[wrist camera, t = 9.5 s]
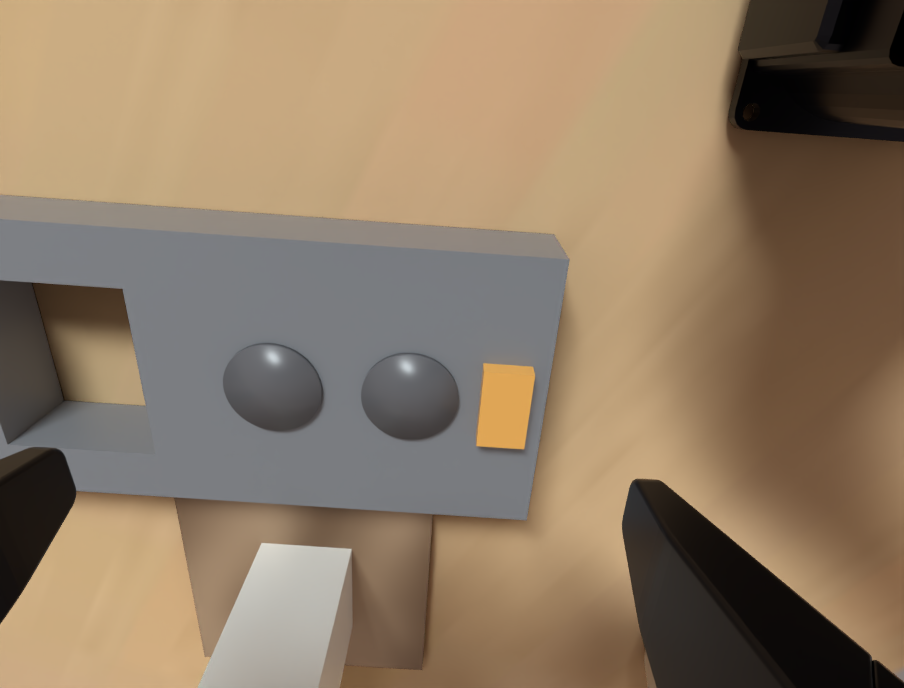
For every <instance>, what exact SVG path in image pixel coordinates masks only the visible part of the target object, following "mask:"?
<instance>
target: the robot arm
mask: <svg viewBox="0 0 904 688" xmlns="http://www.w3.org/2000/svg"><path fill="white" fill-rule="evenodd" d="M738 51H739V53H740V55H741V57H742V58H743V59H742V63H741V67H740V71H739V75H738V78H737V82H736V86H735V90H734V94H733V98H732V101H731V105H730V109H729V120H730V123H731V124H732V125H733V126H734V127H735V128H739V129H743V130H754V131H767V132H781V133H794V134H808V135H821V136H835V137H848V138H862V139H875V140H889V141H902V142H904V0H750V4H749V8H748V12H747V16H746V20H745V24H744V27H743V31H742V35H741V39H740V43H739V47H738ZM748 104H752V105H753V107H754V113H753V114H752V116H751V117H750V118H749V119H748V120H745V119H744V118H743V110H744V109H745V107H746V106H747V105H748ZM75 498H76V486H75V483H74V480H73V477H72V474H71V471H70V469H69V466H68V463H67V460H66V457H65V455H64V453H63V452H62V451H61V450H60V449H57V448H48V447H31V448H27V449H24V450H22V451H19V452H17V453H15V454H12V455H10V456H7V457H5V458H2V459H0V624H1V622H2V621H3V620H4V618H5V617H6V615H7V614H8V612H9V611H10V610H11V608H12V607H13V605H14V604H15V602H16V601H17V599H18V598H19V596H20V595H21V593H22V592H23V590H24V588H25V587H26V585H27V584H28V582H29V580H30V579H31V577H32V575H33V573H34V572H35V570H36V568H37V567H38V565H39V563H40V561H41V560H42V558H43V556H44V554H45V553H46V551H47V549H48V548H49V546H50V544H51V542H52V541H53V539H54V537H55V535H56V534H57V532H58V530H59V528H60V527H61V525H62V523H63V522H64V520H65V518H66V516H67V515H68V513H69V511H70V509H71V508H72V506H73V504H74V501H75ZM622 533H623V539H624V545H625V550H626V556H627V562H628V567H629V573H630V578H631V584H632V590H633V595H634V601H635V607H636V612H637V618H638V623H639V628H640V632H641V636H642V639H643V643H644V647H645V650H646V654H647V657H648V660H649V664H650V667H651V671H652V674H653V677H654V681H655V684H656V688H904V682H903V681H902V680H901V679H899V678H898V677H897V676H896V675H895V674H894V673H892V672H891V671H890V670H889V669H888V668H886V667H885V666H884V665H883V664H881V663H880V662H879V661H877V660H873V661H872V657H871V655H870V654H869V653H868V652H867V651H866V650H864V649H863V648H862V647H861V646H860V645H858V644H857V643H856V642H855V641H853V640H852V639H851V638H850V637H849V636H847V635H846V634H845V633H844V632H843V631H841V630H840V629H839V628H838V627H837V626H835V625H834V624H833V623H832V622H831V621H829V620H828V619H827V618H826V617H825V616H823V615H822V614H821V613H820V612H819V611H817V610H816V609H815V608H814V607H813V606H811V605H810V604H809V603H808V602H807V601H805V600H804V599H803V598H802V597H801V596H799V595H798V594H797V593H796V592H795V591H793V590H792V589H791V588H790V587H788V586H787V585H786V584H785V583H784V582H782V581H781V580H780V579H779V578H778V577H776V576H775V575H774V574H773V573H772V572H770V571H769V570H768V569H767V568H766V567H764V566H763V565H762V564H761V563H760V562H758V561H757V560H756V559H755V558H754V557H752V556H751V555H750V554H749V553H748V552H746V551H745V550H744V549H743V548H742V547H740V546H739V545H738V544H737V543H736V542H734V541H733V540H732V539H731V538H729V537H728V536H727V535H726V534H725V533H723V532H722V531H721V530H720V529H719V528H717V527H716V526H715V525H714V524H713V523H711V522H710V521H709V520H708V519H707V518H705V517H704V516H703V515H702V514H701V513H699V512H698V511H697V510H696V509H695V508H693V507H692V506H691V505H690V504H689V503H687V502H686V501H685V500H684V499H683V498H681V497H680V496H679V495H678V494H677V493H675V492H674V491H673V490H672V489H671V488H669V487H668V486H667V485H666V484H664V483H663V482H662V481H660V480H652V479H635V480H633V481H632V483H631V485H630V488H629V493H628V497H627V501H626V506H625V510H624V515H623V520H622Z"/></svg>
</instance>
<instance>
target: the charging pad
mask: <svg viewBox="0 0 904 688" xmlns="http://www.w3.org/2000/svg"><path fill="white" fill-rule="evenodd" d="M174 498H175V503H176V508H177V514H178V519H179V524H180V529H181V534H182V540H183V545H184V550H185V555H186V561H187V566H188V571H189V576H190V582H191V587H192V592H193V597H194V603H195V608H196V613H197V618H198V623H199V629H200V634H201V639H202V644H203V650H204V655H205V657H211V656H212V654H213V652H214V649H215V647H216V645H217V643H218V640H219V638H220V636H221V634H222V631H223V629H224V627H225V625H226V622H227V620H228V618H229V616H230V613H231V611H232V609H233V606H234V604H235V602H236V600H237V597H238V595H239V593H240V591H241V588H242V586H243V584H244V582H245V579H246V577H247V575H248V573H249V570H250V568H251V566H252V564H253V561H254V559H255V557H256V554H257V552H258V550H259V548H260V545H261V543H270V544H285V545H300V546H315V547H330V548H346V549H352V619H353V626H352V631H351V636H350V641H349V645H348V650H347V655H346V660H345V665H348V666H364V667H381V668H397V669H413V670H422V664H423V650H424V635H425V620H426V606H427V591H428V576H429V561H430V547H431V532H432V517H433V514H423V513H407V512H392V511H377V510H361V509H346V508H331V507H315V506H300V505H285V504H269V503H254V502H239V501H223V500H208V499H192V498H177V497H174Z"/></svg>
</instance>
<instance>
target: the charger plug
mask: <svg viewBox="0 0 904 688" xmlns="http://www.w3.org/2000/svg"><path fill="white" fill-rule="evenodd" d="M352 626H353V619H352V549H346V548H330V547H315V546H300V545H285V544H270V543H261V545H260V548H259V550H258V552H257V554H256V557H255V559H254V561H253V564H252V566H251V568H250V570H249V573H248V575H247V577H246V579H245V582H244V584H243V586H242V588H241V591H240V593H239V595H238V597H237V600H236V602H235V604H234V606H233V609H232V611H231V613H230V616H229V618H228V620H227V622H226V625H225V627H224V629H223V631H222V634H221V636H220V638H219V640H218V643H217V645H216V647H215V649H214V652H213V654H212V656H211V658H210V661H209V663H208V665H207V668H206V670H205V672H204V674H203V677H202V679H201V681H200V683H199V686H198V688H340V684H341V680H342V675H343V670H344V665H345V660H346V655H347V650H348V645H349V641H350V636H351V631H352Z"/></svg>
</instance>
